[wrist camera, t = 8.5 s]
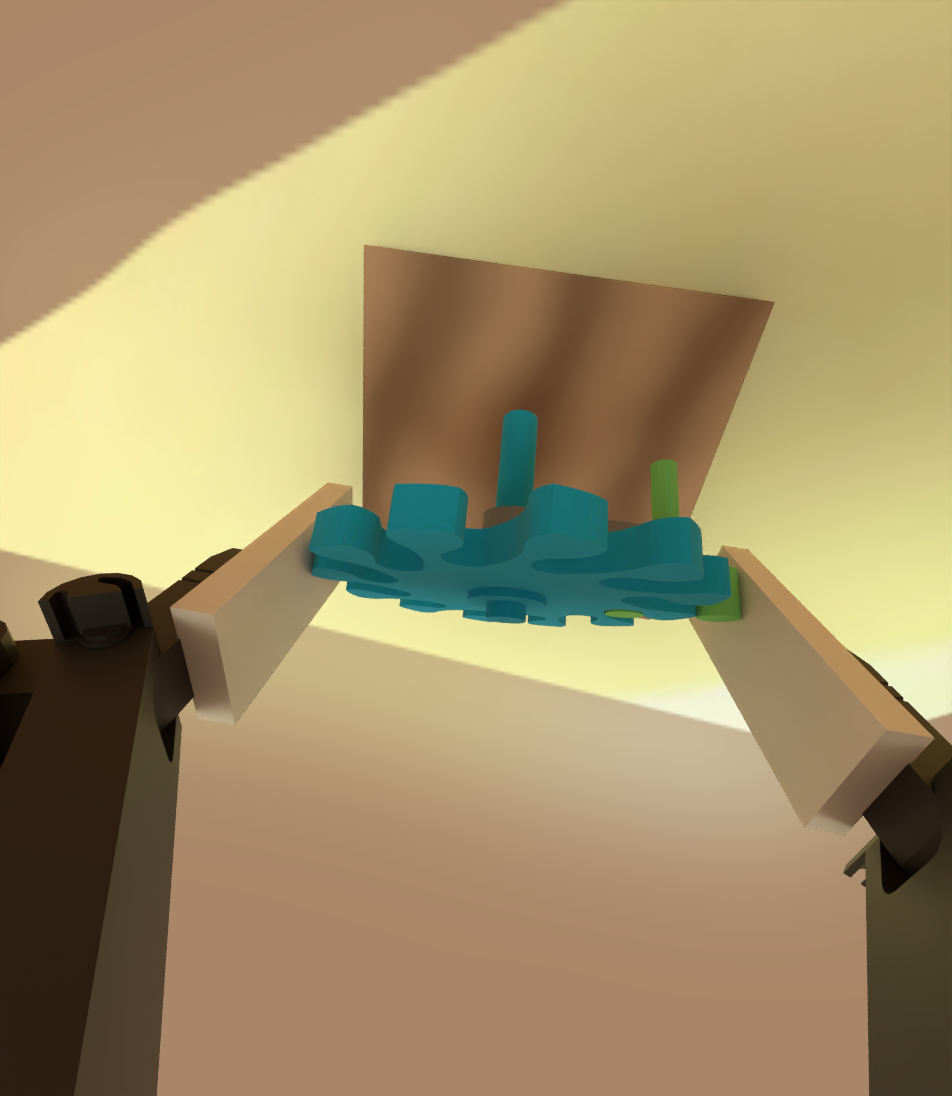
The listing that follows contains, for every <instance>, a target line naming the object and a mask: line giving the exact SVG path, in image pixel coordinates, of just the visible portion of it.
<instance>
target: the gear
mask: <svg viewBox="0 0 952 1096" xmlns="http://www.w3.org/2000/svg"><path fill="white" fill-rule="evenodd" d="M537 426H538V419H537V417H536V415H535V414H533V413H532V412H530V411H526V410H513V411H510V412H508V413H507V414H505V416H504V418H503V428H502V439H501V451H500V462H499V473H498V484H497V495H496V506H495V507H493V508H490V509H488V510H486V511H485V512H484V515H483V525H482V529H472V528H465V526H466V517H467V508H468V499H469V498H468V495H467V493H466V492H465V491H464V490H463V489H461V488H460V487H454V486H448V485H439V484H419V483H412V484H395V486H394V487H393V493H392V499H391V505H390V511H389V517H388V523H387V529H386V530H385V529H384V528H382V526H381V521H380V518H379V517H378V516H377V515H376V514H375V513H373V512H371V511H369V510H367V509H365V508H362V507H359V506H355V505H340V506H334V507H331V508H327V509H324V510H322V511H320V512H317V515H316V520H315V524H314V529H313V533H312V538H311V542H310V547H309V551H311V552H313V553H315V559H314V563H313V568H312V575H313V576H316V577H320V578H324V579H330V580H337V581H347V587H346V590H347V591H348V592H349V593H351V594H353V595H356V596H358V597H363V598H373V599H383V598H394V599H400V606H401V607H404V608H407V609H411V610H415V611H419V612H437V611H443V610H463V618H468V619H474V620H480V621H487V622H501V623H524V622H525V621H526V615H528V623H529V624H534V625H544V626H558V627H562V626H565V625H566V616H568V615H584V616H591V624H594V625H599V626H633V625H634V618H637V617H642V616H643V615H644V617H646V618H650V619H656V620H676V619H685V618H692V617H696V619H698V620H702V621H710V622H732V621H736V620H741V608H740V597H739V585H738V574H737V569H736V568H735V567H732V566H729V562H728V558H725V557H720V556H710V555H703V552H702V536H701V530H700V528H699V526H698V525H697V524H696V523H695V522H694V521H693V520H692V519H691V518H690V517H679V497H678V476H677V463H676V462H675V461H673V460H660V461H656V462H654V463H653V464H652V465H651V502H652V521H649V522H646V523H643V524H636V523H630V522H623V521H616V520H609V519H608V501H607V500H605V499H603V498H601V497H600V496H597V495H594V494H592V493H589V492H586V491H582V490H579V489H575V488H571V487H567V486H563V485H558V484H554V483H553V484H548V485H544V486H541V487H539V488H536V489H535V490H534V474H535V458H536V442H537Z"/></svg>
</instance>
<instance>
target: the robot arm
mask: <svg viewBox="0 0 952 1096" xmlns="http://www.w3.org/2000/svg"><path fill="white" fill-rule="evenodd" d="M340 505H352V486H345V485H339V484H333V483H327V484H326V485H324V486H323V487H322V488H321V489H319V490H318V491H317V492H315V493H314V494H313V495H312V496H310V497H309V498H308V499H307V500H305V501H304V502H303V503H301V504H300V505H299V506H298V507H296V508H295V509H294V510H293V511H291V512H290V513H289V514H288V515H286V516H285V517H284V518H282V519H281V520H280V521H279V522H277V523H276V524H275V525H274V526H272V527H271V528H270V529H268V530H267V531H266V532H265V533H263V534H262V535H261V536H260V537H258V538H257V539H256V540H255V541H253V542H252V543H251V544H249V545H248V546H247V547H246V548H244V549H243V550H241V549H235V548H232V549H229V550H227V551H224V552H221V553H219V554H216V555H214V556H211V557H210V558H208V559H207V560H206V561H204V562H203V563H202V564H200V565H199V566H198V567H196V568H195V571H193V570H192V571H191V572H189V573H188V574H187V575H185V576H184V577H182V580H178V581H177V582H176V583H174V584H173V585H171V586H170V587H169V588H167V589H166V590H165V591H163V592H162V593H161V594H159V595H158V596H156V597H155V598H154V599H152V600H151V601H150V602H148V603H147V600H146V597H145V593H144V589H143V586H142V582H141V580H139V579H138V578H136V577H134V576H133V575H127V574H121V573H105V574H96V575H91V576H86V577H81V578H78V579H75V580H72V581H69V582H66V583H63V584H61V585H59V586H57V587H56V588H54V589H52V590H50V591H49V592H47V593H46V594H45V595H44V596H43V597H42V598H41V599H40V600H39V601H38V603H39V605H40V608H41V610H42V612H43V615H44V617H45V619H46V622H47V624H48V626H49V629H50V631H51V634H52V636H53V638H54V639H42V640H23V641H14V640H13V638H12V636H11V634H10V632H9V630H8V628H7V625H6V623H5V622H2V621H0V1096H157V1082H158V1068H159V1053H160V1038H161V1023H162V1009H163V995H164V979H165V965H166V964H165V963H166V951H167V936H168V921H169V906H170V892H171V877H172V863H173V847H174V833H175V818H176V803H177V790H178V775H179V760H180V745H181V730H182V727H181V722H180V719H179V715H178V714H179V712H180V711H181V710H182V709H183V708H184V707H185V706H186V705H187V704H188V703H189V701H190V700H191V699H192V698H193V701H194V705H195V709H196V713H197V717H198V719H203V720H208V721H214V722H220V723H225V724H231V725H235V724H236V723H237V722H238V720H239V719H240V717H241V716H242V715H243V713H244V712H245V711H246V709H247V708H248V707H249V705H250V704H251V702H252V701H253V700H254V698H255V697H256V696H257V694H258V693H259V691H260V690H261V689H262V687H263V686H264V685H265V683H266V682H267V681H268V679H269V678H270V676H271V675H272V674H273V672H274V671H275V670H276V668H277V667H278V665H279V664H280V663H281V661H282V660H283V659H284V657H285V656H286V654H287V653H288V652H289V650H290V649H291V648H292V646H293V645H294V643H295V642H296V641H297V639H298V638H299V637H300V635H301V634H302V633H303V631H304V630H305V629H306V627H307V626H308V624H309V623H310V622H311V620H312V619H313V618H314V616H315V615H316V613H317V612H318V611H319V609H320V608H321V607H322V605H323V604H324V603H325V601H326V600H327V598H328V597H329V596H330V594H331V593H332V592H333V590H334V589H335V587H336V586H337V585H338V583H339V582H340V581H337V580H330V579H324V578H320V577H316V576H313V575H312V568H313V563H314V559H315V553H313V552H311V551H309V547H310V542H311V538H312V533H313V529H314V524H315V520H316V515H317V512H320V511H322V510H324V509H327V508H331V507H334V506H340ZM718 556H720V557H725V558H728V562H729V566H732V567H735V568H736V569H737V574H738V585H739V597H740V608H741V620H736V621H732V622H710V621H702V620H698V619H696V617H692V618H690V619H689V620H690V622H691V624H692V626H693V627H694V629H695V631H696V633H697V635H698V636H699V638H700V640H701V642H702V644H703V645H704V647H705V649H706V651H707V653H708V654H709V656H710V658H711V660H712V662H713V664H714V665H715V667H716V669H717V671H718V673H719V674H720V676H721V678H722V680H723V682H724V683H725V685H726V687H727V689H728V691H729V692H730V694H731V696H732V698H733V700H734V701H735V703H736V705H737V707H738V709H739V710H740V712H741V714H742V716H743V718H744V720H745V721H746V723H747V725H748V727H749V729H750V730H751V732H752V734H753V736H754V738H755V739H756V741H757V743H758V745H759V746H760V748H761V750H762V752H763V754H764V755H765V757H766V759H767V761H768V763H769V765H770V766H771V768H772V770H773V772H774V774H775V776H776V777H777V779H778V781H779V783H780V785H781V786H782V788H783V790H784V792H785V793H786V795H787V797H788V799H789V801H790V803H791V804H792V806H793V808H794V810H795V812H796V814H797V815H798V817H799V819H800V821H801V823H802V824H803V826H804V828H808V829H814V830H820V831H825V832H831V833H836V834H842V835H846V833H847V832H848V831H849V830H850V829H851V828H852V827H853V826H854V825H855V824H856V823H857V822H858V820H859V819H860V818H861V817H862V816H864V817H865V818H866V820H867V821H868V823H869V824H870V826H871V827H872V829H873V830H874V832H875V833H876V835H875V836H874V837H873V838H872V840H870V841H869V843H867V845H865V846H864V848H862V850H861V851H860V852H859V853H858V854H857V855H856V856H855V857H854V858H853V859H852V860H851V861H850V862H849V863H848V864H847V865H846V867H845V870H844V874H846V875H847V876H849V877H852V876H853V874H854V873H856V871H857V870H859V869H863V868H864V869H866V879H865V880H864V881H862V883H861V885H863V886H865V887H866V918H867V919H866V920H867V982H868V983H867V984H868V1040H869V1041H868V1043H869V1044H868V1046H869V1096H952V745H950V743H949V742H948V741H946V739H945V738H944V737H943V736H942V735H940V734H939V733H938V732H937V730H935V729H934V728H933V727H932V726H931V725H930V724H929V723H928V722H927V721H926V720H925V719H924V718H923V717H922V716H921V715H920V714H919V713H918V712H917V711H916V710H915V709H914V708H913V707H912V706H911V705H910V704H909V703H908V702H906V701H903V697H902V696H901V695H900V694H899V693H898V692H897V691H896V690H895V689H894V688H893V687H892V686H888V682H887V681H886V680H885V679H884V678H883V677H882V676H881V675H880V674H879V673H878V672H877V671H876V670H875V669H874V668H873V667H872V666H871V665H869V664H868V663H866V662H865V661H864V660H862V659H861V658H859V657H858V656H856V655H855V654H853V653H852V652H850V651H849V650H848V649H846V648H845V647H844V646H843V645H842V644H841V643H840V642H839V641H838V640H837V639H836V638H835V637H834V636H833V635H832V634H831V633H830V632H829V631H828V630H827V629H826V628H825V627H824V626H823V625H822V624H821V623H820V622H819V621H818V620H817V619H816V618H815V617H814V616H813V615H812V614H811V613H810V612H809V611H808V610H807V609H806V608H805V607H804V606H803V605H802V604H801V603H800V602H799V601H798V600H797V599H796V598H795V597H794V596H793V595H792V594H791V593H790V592H789V591H788V590H787V589H786V587H785V586H784V585H783V584H782V583H781V582H780V581H779V580H778V579H777V578H776V577H775V576H774V575H773V574H772V573H771V572H770V571H769V570H768V569H767V568H766V567H765V566H764V565H763V564H762V563H761V562H760V561H759V560H758V559H757V558H756V557H755V556H754V555H753V554H752V553H751V552H750V551H749V550H747V549H741V548H735V547H728V546H722V547H721V549H720V551H719V554H718Z"/></svg>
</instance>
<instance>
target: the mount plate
mask: <svg viewBox="0 0 952 1096" xmlns="http://www.w3.org/2000/svg"><path fill="white" fill-rule="evenodd" d="M774 303H775V302H770V301H763V300H756V299H748V298H741V297H734V296H727V295H720V294H713V293H705V292H698V291H691V290H684V289H677V288H669V287H662V286H655V285H648V284H641V283H634V282H626V281H619V280H612V279H605V278H598V277H591V276H583V275H576V274H569V273H562V272H555V271H547V270H540V269H533V268H526V267H519V266H512V265H504V264H497V263H490V262H483V261H476V260H469V259H461V258H454V257H447V256H440V255H433V254H426V253H418V252H411V251H404V250H397V249H390V248H382V247H375V246H368V245H364V356H363V508H365V509H367V510H369V511H371V512H373V513H375V514H376V515H377V516H378V517H379V518H380V521H381V526H382V528H384V529H385V530H386V529H387V523H388V517H389V511H390V505H391V499H392V493H393V487H394V486H395V484H412V483H419V484H439V485H448V486H454V487H460V488H461V489H463V490H464V491H465V492H466V493H467V495H468V498H469V499H468V508H467V517H466V526H465V528H472V529H482V525H483V515H484V512H485V511H486V510H488V509H490V508H493V507H495V506H496V495H497V484H498V473H499V462H500V451H501V439H502V428H503V418H504V416H505V414H507V413H508V412H510V411H513V410H526V411H530V412H532V413H533V414H535V415H536V417H537V419H538V426H537V442H536V458H535V474H534V490H535V489H536V488H539V487H541V486H544V485H548V484H553V483H554V484H558V485H563V486H567V487H571V488H575V489H579V490H582V491H586V492H589V493H592V494H594V495H597V496H600V497H601V498H603V499H605V500H607V501H608V519H609V520H616V521H623V522H630V523H636V524H643V523H646V522H649V521H652V502H651V465H652V464H653V463H654V462H656V461H660V460H673V461H675V462H676V463H677V476H678V497H679V517H690V516H691V514H692V511H693V509H694V506H695V504H696V501H697V499H698V496H699V493H700V491H701V488H702V486H703V483H704V481H705V478H706V476H707V473H708V471H709V468H710V465H711V463H712V460H713V458H714V455H715V453H716V450H717V448H718V445H719V443H720V440H721V437H722V435H723V432H724V430H725V427H726V425H727V422H728V420H729V417H730V415H731V412H732V409H733V407H734V404H735V402H736V399H737V397H738V394H739V392H740V389H741V387H742V384H743V382H744V379H745V376H746V374H747V371H748V369H749V366H750V364H751V361H752V359H753V356H754V354H755V351H756V348H757V346H758V343H759V341H760V338H761V336H762V333H763V331H764V328H765V326H766V323H767V320H768V318H769V315H770V313H771V310H772V308H773V305H774ZM637 618H643V619H649V620H650V618H646V617H644V615H643V616H642V617H637Z"/></svg>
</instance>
